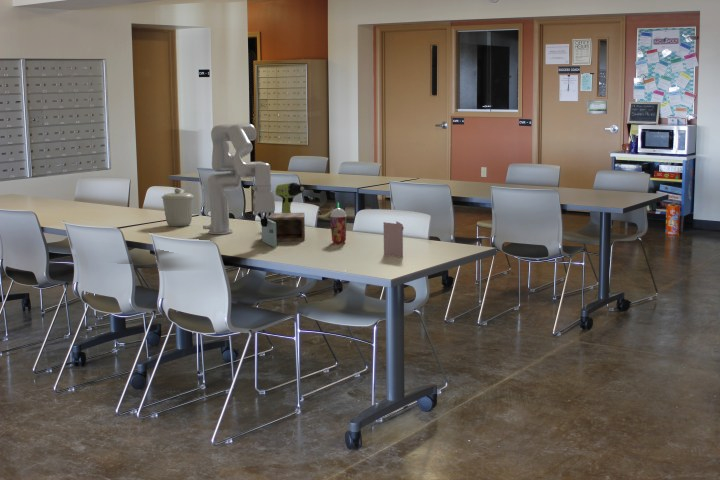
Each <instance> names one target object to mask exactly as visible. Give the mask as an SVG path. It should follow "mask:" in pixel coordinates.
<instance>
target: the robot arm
mask: <svg viewBox="0 0 720 480" xmlns="http://www.w3.org/2000/svg"><path fill="white" fill-rule="evenodd" d="M257 134H258V133H257V128H255V126H254V125H253V124H251V123H245V124H244V123H243V124H239V123H237V124H236V123H235V124H218V125H215V126H213V127H212V129H211V131H210V135H211V136H210V137H211V138H210V139H211V142H212V151H211V152H212V153H211V168H212V170H213V171H215V172H217V173H213V174H210V175H209V176H208V177H207V188H208V193H209V205H210V206H209V207H210V224H209V225H202V229H203V230H208V231H207V233H208V234H210V235H228V234H232V233H233V230H232V229H230V218H229V217H230V214H229V213H230V212H229V211H230V210H229V198H228V196H227V195H226V193H225V192H227V191H229V192H230V191H236V190H238V189H240V186H241V183H242V179H243V178H244V179H247V178H249V179H250V178H254V186H253V187H252V191H254V192H253V197H252V211H253V213H252V214H253V216H258V217H259V219H260V225H261V228H262V227H267V224H268V219H267V218H268V217H269V216H270V215H271V214H274V213H275V210H276V202H275V195H274V193H273V191H272V182H271V180H272V179H271V178H272V177H271V164H269V163H267V162H263V161H246V162H244V161H243V159H242V158H245V157H246V156H249V154H250V153H251V152H252V151H253V144H252V142H251V141H255V140H256V138H257ZM229 142H231V144H232V146H233V148H234V150H235V152H230V144H229Z"/></svg>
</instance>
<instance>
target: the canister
mask: <svg viewBox="0 0 720 480" xmlns="http://www.w3.org/2000/svg"><path fill="white" fill-rule="evenodd" d="M173 190H174V192H169V193H164V195H162V196H161V199H162V203H163V211H164V215H165V220H166V224H167V225H168V226H169V227H176V228H177V227H188V226H189V225H191V223H192V218H193V208H194V207H193V206H194V198H195V195H194V194H192V193H191V192H182V189H181V188H179V187H176V188H175V189H173Z"/></svg>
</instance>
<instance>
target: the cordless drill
mask: <svg viewBox="0 0 720 480" xmlns="http://www.w3.org/2000/svg"><path fill="white" fill-rule="evenodd" d="M304 190H305V187H304V186H303V184H298V183H296V182H289V183H282V184H278V185H276V187H275V192H274V193H275V195H276V196H277V197H281V199H282V200H281V202H282V203H281V205H282V206H281V212H280V213H292V211H291V205H292V203H293V201H294V198H295V197H296V196H298V195H299V194H302V193H303V192H304Z"/></svg>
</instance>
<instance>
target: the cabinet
mask: <svg viewBox="0 0 720 480" xmlns="http://www.w3.org/2000/svg"><path fill="white" fill-rule="evenodd" d="M267 219H269V220H271V221H273V222H276V239H277V242H305V240H306V229H305V228H306V227H305V226H306V223H305V222H306V221H305V220H306V219H305V212H291V213H281V212H274V214H271V215H270V216H269V217H268V218H267Z"/></svg>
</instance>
